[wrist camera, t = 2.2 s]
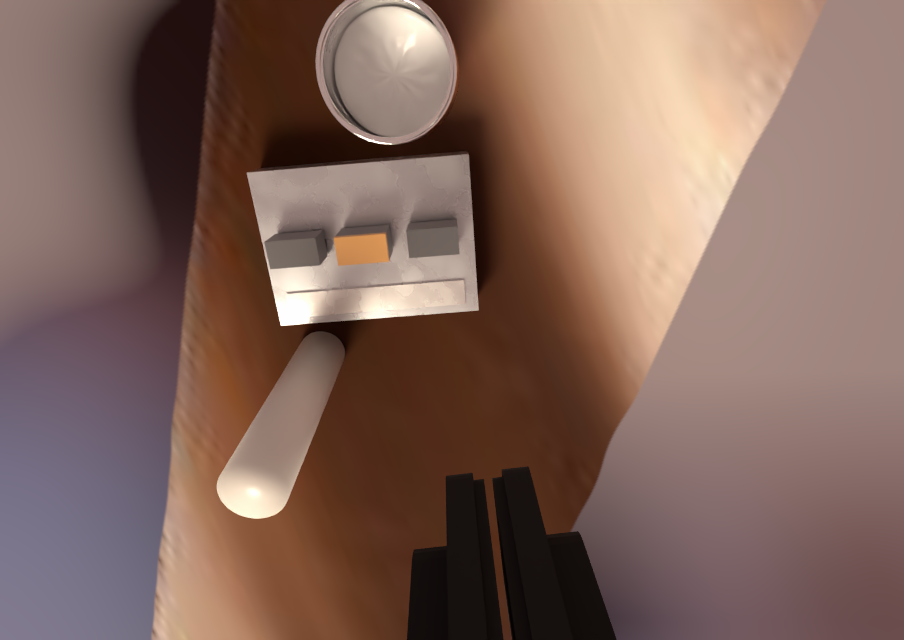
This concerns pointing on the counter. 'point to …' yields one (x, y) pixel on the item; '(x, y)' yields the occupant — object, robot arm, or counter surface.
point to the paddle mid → (363, 245)
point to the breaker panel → (360, 205)
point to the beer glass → (387, 69)
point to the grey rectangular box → (296, 249)
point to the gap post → (282, 431)
